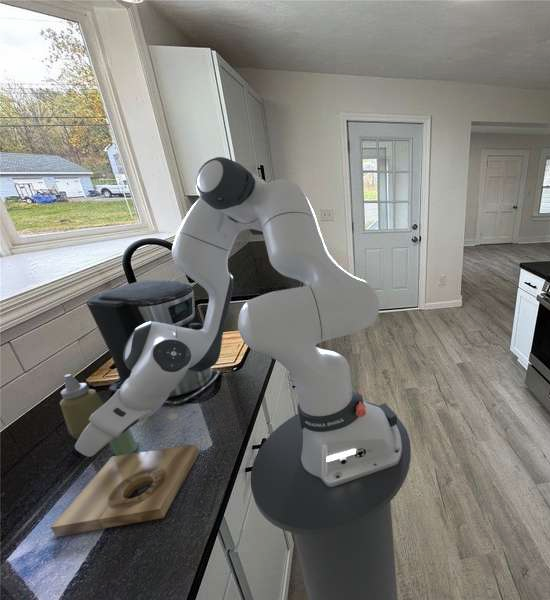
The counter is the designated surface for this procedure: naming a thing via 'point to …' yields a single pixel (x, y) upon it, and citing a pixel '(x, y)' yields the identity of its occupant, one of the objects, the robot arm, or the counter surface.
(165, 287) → the coffee maker
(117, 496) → the wooden board with hole
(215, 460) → the counter surface
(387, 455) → the robot arm
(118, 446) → the green cylinder
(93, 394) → the squeeze bottle
